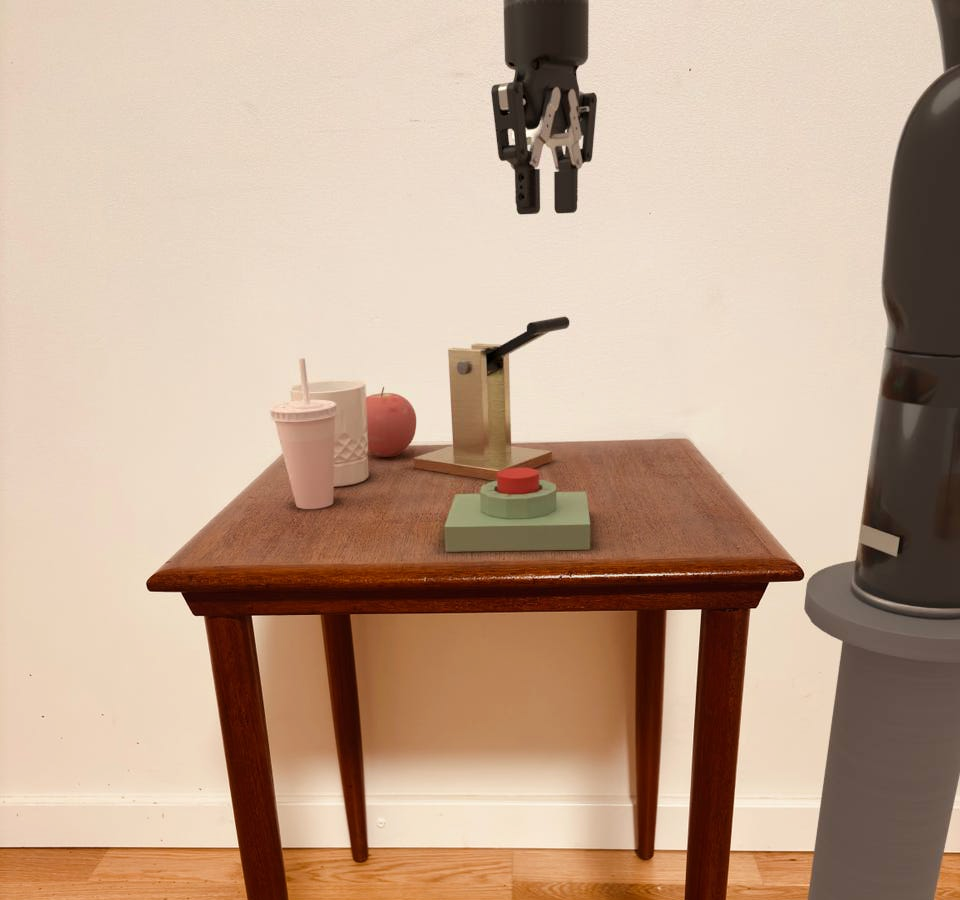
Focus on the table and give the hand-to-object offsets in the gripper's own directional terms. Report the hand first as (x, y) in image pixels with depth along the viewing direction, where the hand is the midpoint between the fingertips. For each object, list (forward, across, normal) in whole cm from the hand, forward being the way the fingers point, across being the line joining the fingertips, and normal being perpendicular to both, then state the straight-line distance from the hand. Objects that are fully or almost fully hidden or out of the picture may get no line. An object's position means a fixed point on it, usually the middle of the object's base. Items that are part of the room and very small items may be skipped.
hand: (547, 212), depth 88 cm
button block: (+26, -18, -9) cm, 32 cm away
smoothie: (+26, -21, +14) cm, 36 cm away
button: (+22, -18, -9) cm, 30 cm away
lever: (+14, 0, +4) cm, 14 cm away
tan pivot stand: (+26, 0, +9) cm, 27 cm away
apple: (+26, -2, +22) cm, 34 cm away
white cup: (+26, -13, +19) cm, 35 cm away
